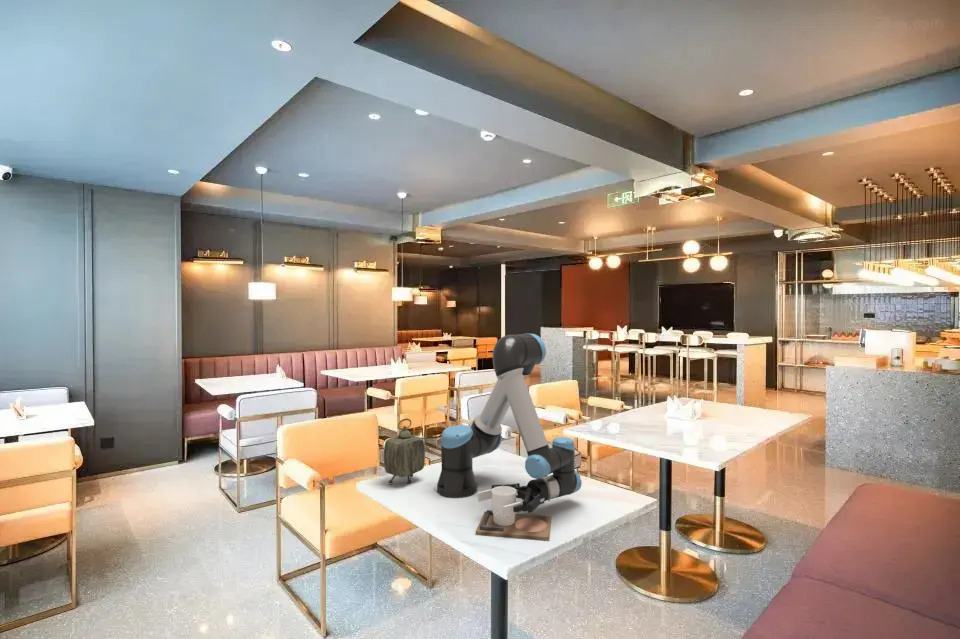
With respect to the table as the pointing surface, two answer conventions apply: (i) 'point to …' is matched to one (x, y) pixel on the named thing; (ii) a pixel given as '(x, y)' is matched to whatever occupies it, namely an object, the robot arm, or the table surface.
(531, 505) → the robot arm
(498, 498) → the white cup
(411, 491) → the table surface
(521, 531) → the walnut board
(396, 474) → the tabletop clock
